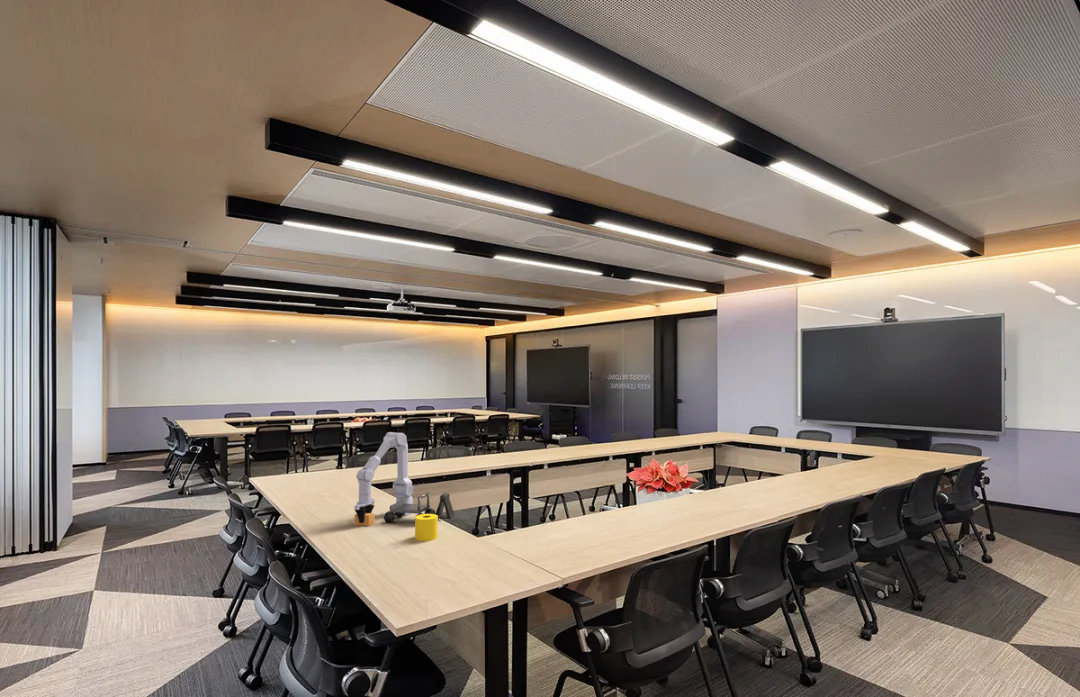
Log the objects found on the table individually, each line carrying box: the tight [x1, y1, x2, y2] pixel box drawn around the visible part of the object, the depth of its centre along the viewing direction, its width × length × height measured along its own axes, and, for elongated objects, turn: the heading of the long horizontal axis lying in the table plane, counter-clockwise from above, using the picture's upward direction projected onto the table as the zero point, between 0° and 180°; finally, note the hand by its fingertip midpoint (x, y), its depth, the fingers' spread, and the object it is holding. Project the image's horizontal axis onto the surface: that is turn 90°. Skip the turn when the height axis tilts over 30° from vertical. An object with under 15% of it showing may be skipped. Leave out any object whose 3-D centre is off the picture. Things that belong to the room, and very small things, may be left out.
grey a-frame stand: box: [435, 492, 456, 520], centre depth 282 cm, size 9×6×12 cm, turn 78°
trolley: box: [383, 492, 436, 524], centre depth 275 cm, size 12×22×14 cm, turn 75°
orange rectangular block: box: [354, 512, 375, 527], centre depth 269 cm, size 4×8×5 cm, turn 74°
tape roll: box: [414, 513, 439, 542], centre depth 246 cm, size 10×10×9 cm
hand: (364, 521), depth 269 cm, fingers closed on orange rectangular block, 5 cm apart
